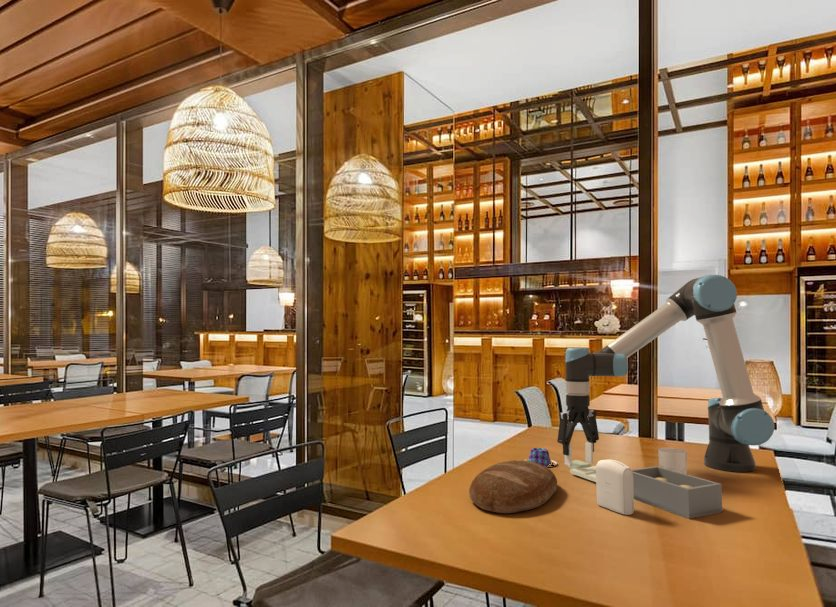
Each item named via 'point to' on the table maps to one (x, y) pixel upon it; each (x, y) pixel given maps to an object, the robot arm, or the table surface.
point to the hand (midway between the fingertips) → (578, 463)
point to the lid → (583, 470)
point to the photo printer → (615, 486)
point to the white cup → (673, 459)
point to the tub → (677, 492)
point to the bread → (513, 486)
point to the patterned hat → (540, 456)
